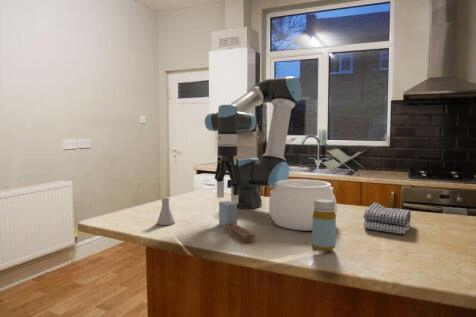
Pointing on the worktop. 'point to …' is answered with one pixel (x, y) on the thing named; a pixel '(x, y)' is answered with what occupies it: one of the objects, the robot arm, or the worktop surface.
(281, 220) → the pot
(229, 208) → the slab
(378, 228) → the towel
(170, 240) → the worktop surface
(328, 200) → the bottle
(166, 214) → the flask
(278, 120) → the robot arm
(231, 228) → the block
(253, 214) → the worktop surface
